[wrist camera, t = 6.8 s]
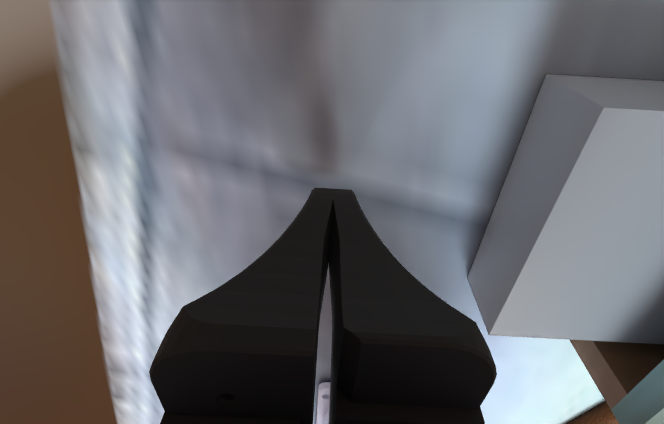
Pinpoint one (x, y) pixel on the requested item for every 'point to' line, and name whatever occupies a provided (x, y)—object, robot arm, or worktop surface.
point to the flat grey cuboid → (580, 218)
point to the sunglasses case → (596, 416)
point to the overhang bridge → (627, 378)
